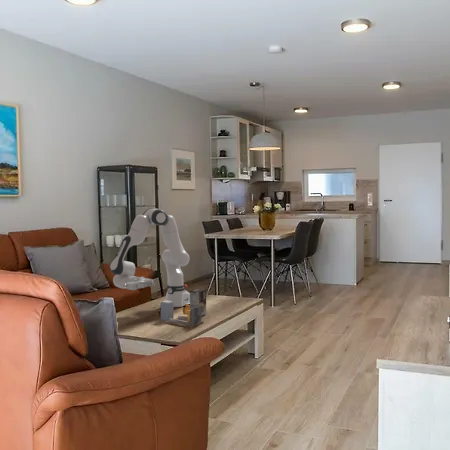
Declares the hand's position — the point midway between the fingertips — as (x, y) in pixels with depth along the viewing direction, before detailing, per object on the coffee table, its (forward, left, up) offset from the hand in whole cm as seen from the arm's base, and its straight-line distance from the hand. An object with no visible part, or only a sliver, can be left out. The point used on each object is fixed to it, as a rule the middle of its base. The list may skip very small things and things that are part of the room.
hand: (149, 285), depth 325 cm
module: (0, +15, -20) cm, 25 cm away
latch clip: (0, +34, -19) cm, 39 cm away
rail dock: (0, +29, -20) cm, 35 cm away
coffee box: (-21, +23, -20) cm, 37 cm away
